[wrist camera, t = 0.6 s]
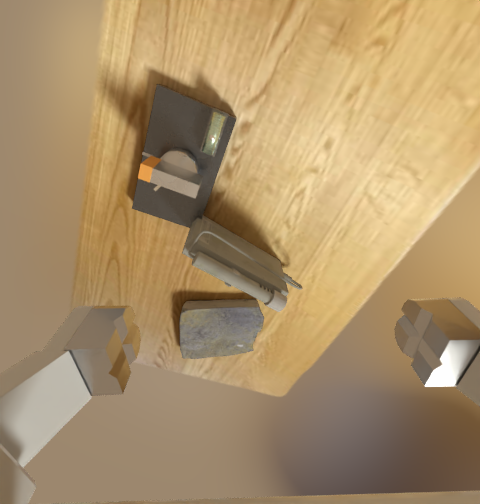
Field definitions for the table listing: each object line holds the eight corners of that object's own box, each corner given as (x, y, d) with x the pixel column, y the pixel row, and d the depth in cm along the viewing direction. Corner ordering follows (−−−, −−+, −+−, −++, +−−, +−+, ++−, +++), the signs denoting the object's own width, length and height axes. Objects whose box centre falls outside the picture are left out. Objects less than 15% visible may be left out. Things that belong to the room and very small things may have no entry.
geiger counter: (173, 268, 40) (300, 332, 48) (193, 237, 38) (325, 310, 45) (187, 227, 52) (287, 283, 60) (204, 201, 49) (306, 264, 57)
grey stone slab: (260, 344, 71) (264, 297, 61) (261, 360, 67) (265, 312, 58) (185, 343, 71) (176, 296, 62) (182, 359, 68) (172, 311, 58)
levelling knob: (209, 159, 43) (203, 172, 36) (198, 192, 46) (191, 211, 39) (158, 139, 41) (143, 149, 35) (150, 175, 44) (135, 191, 37)
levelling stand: (160, 82, 39) (150, 81, 35) (236, 116, 42) (237, 119, 38) (135, 204, 49) (125, 215, 45) (198, 225, 51) (195, 238, 47)
